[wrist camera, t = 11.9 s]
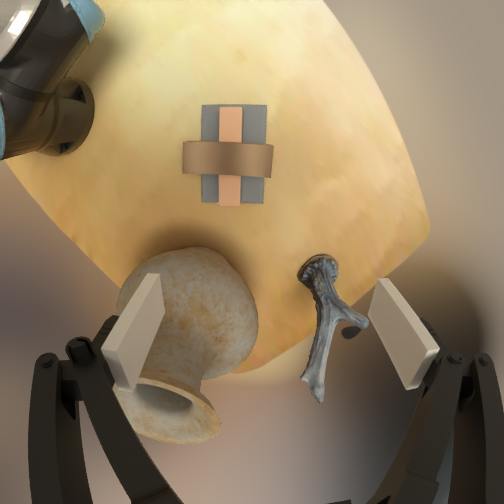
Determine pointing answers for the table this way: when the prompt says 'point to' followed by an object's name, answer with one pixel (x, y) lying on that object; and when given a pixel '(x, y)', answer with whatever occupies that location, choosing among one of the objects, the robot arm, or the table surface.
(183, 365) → the vase
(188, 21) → the table surface
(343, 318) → the antler
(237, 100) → the table surface
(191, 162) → the walnut bar
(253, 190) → the ridge block
